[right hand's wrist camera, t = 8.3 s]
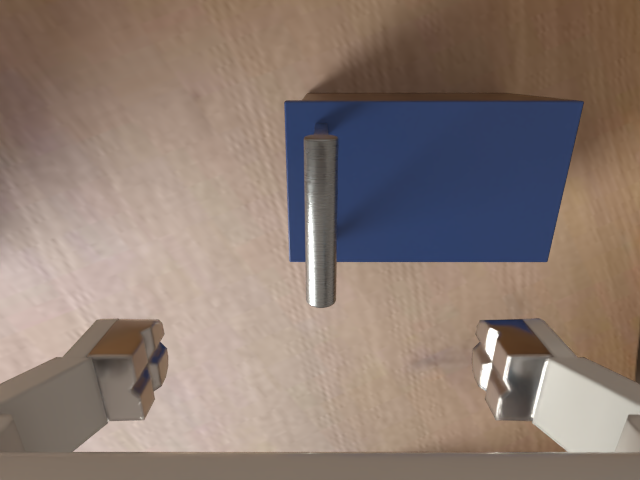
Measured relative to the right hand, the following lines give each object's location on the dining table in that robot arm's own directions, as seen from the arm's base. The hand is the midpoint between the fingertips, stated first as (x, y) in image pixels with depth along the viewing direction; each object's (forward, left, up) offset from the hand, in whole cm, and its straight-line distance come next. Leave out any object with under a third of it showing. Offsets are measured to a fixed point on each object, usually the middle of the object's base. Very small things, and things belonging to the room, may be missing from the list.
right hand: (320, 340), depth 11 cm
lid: (+4, +5, -16) cm, 17 cm away
